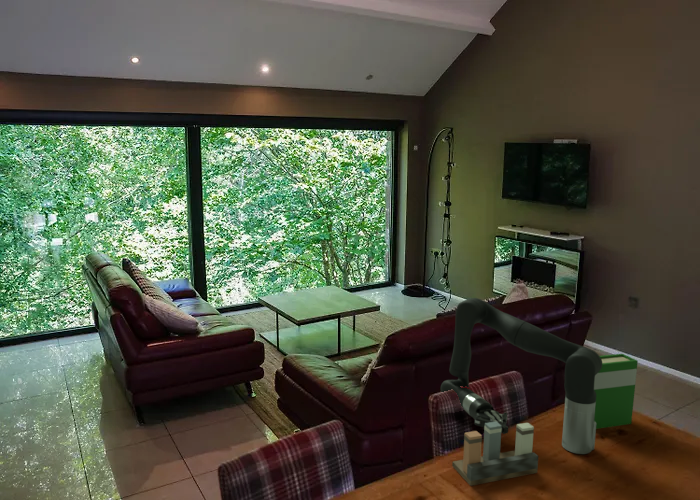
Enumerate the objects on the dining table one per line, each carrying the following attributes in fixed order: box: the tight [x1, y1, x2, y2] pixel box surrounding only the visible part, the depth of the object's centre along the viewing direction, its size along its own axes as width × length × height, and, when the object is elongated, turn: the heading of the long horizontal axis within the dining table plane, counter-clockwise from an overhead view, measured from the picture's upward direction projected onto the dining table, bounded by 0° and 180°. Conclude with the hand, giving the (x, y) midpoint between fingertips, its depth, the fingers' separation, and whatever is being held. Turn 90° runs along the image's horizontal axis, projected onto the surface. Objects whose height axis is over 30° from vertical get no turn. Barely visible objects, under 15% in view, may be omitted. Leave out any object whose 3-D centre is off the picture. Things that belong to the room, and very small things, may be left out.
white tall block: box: [514, 422, 535, 456], centre depth 171 cm, size 4×3×12 cm
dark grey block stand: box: [451, 450, 539, 487], centre depth 170 cm, size 23×11×6 cm, turn 108°
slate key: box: [482, 422, 502, 461], centre depth 172 cm, size 4×3×12 cm
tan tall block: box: [462, 430, 483, 474], centre depth 165 cm, size 4×3×12 cm
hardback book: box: [594, 353, 639, 430], centre depth 200 cm, size 18×7×24 cm, turn 106°
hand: (506, 430), depth 180 cm, fingers closed
